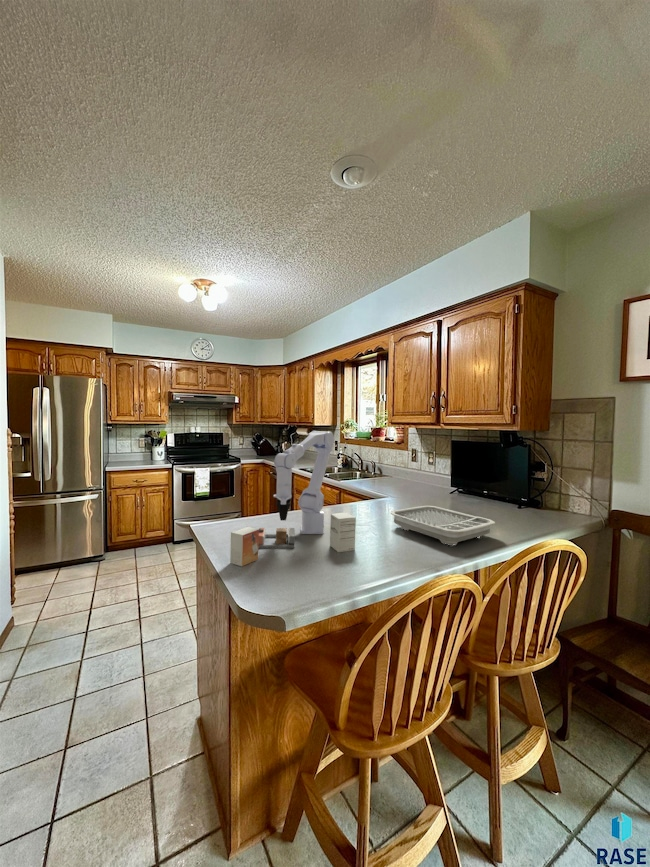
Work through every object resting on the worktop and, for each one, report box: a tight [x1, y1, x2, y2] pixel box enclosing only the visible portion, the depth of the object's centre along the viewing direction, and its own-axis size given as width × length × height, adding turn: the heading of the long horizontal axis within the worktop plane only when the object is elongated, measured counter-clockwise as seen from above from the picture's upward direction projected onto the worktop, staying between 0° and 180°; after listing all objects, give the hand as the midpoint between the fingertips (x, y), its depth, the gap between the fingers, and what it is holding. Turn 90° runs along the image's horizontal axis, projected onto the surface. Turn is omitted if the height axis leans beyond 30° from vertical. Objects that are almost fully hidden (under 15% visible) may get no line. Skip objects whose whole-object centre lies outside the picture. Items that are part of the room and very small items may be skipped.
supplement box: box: [329, 512, 357, 553], centre depth 133 cm, size 7×7×13 cm
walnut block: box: [275, 527, 288, 545], centre depth 138 cm, size 4×4×5 cm
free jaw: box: [258, 527, 266, 545], centre depth 137 cm, size 2×10×5 cm, turn 6°
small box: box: [229, 526, 260, 567], centre depth 118 cm, size 8×6×10 cm
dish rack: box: [390, 505, 496, 545], centre depth 154 cm, size 32×37×8 cm
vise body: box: [258, 527, 296, 550], centre depth 137 cm, size 17×13×4 cm
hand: (283, 518), depth 137 cm, fingers open, 4 cm apart
